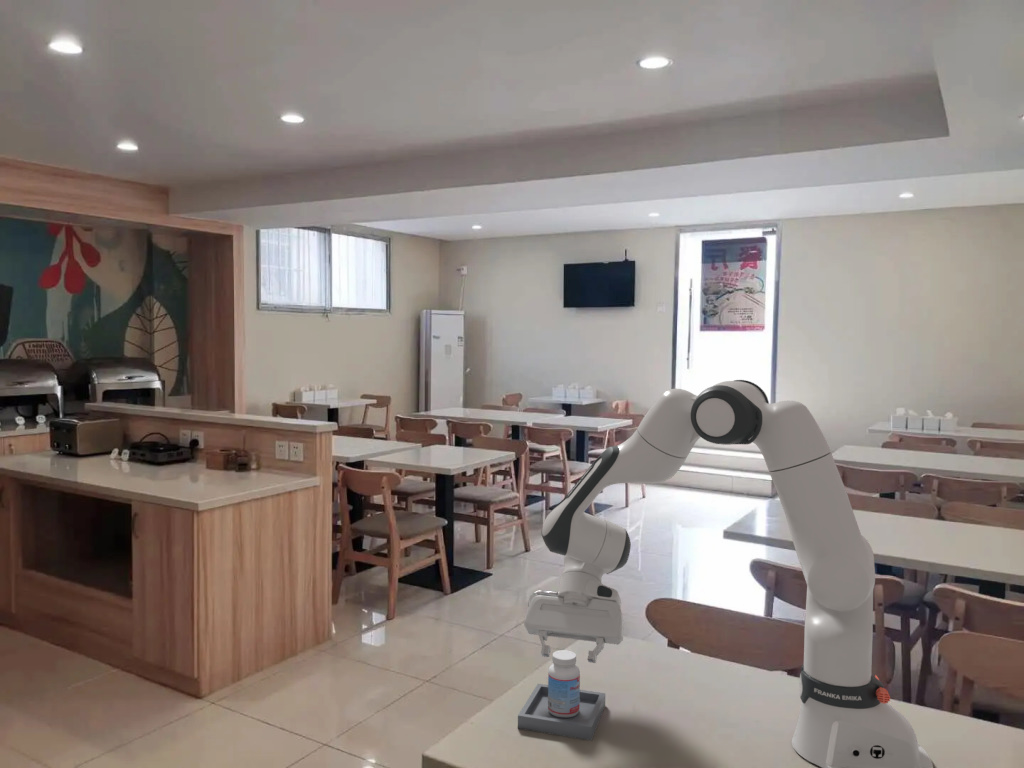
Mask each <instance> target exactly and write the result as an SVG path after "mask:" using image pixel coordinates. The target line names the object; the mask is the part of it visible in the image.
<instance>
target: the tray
mask: <svg viewBox="0 0 1024 768" xmlns="http://www.w3.org/2000/svg"><path fill="white" fill-rule="evenodd" d="M605 707H606V692H599V691H593V690H586V689H585V690H584V689H580V703H579V712H578V714H577V715H575V716H573V717H570V718H562V717H556V716H554V715H552V714H551V713H550V712H549V711H548V684H543V683H537V684H536V686H535V687H534V689H533V691H532V692H531V694H530V695H529V697H528V698H527V700H526V702H525V704H524V705H523V706H522V708H521V710H520V711H519V714H517V715H518V716H517V729H518V730H526V731H532V732H537V733H543V734H544V733H545V734H550V735H556V736H561V737H568V738H573V739H574V738H575V739H579V740H587V741H592V740H593V738H594V734H595V733H596V730H597V727H598V725H599V722H600V720H601V717H602V716H603V715H602V714H603V712H604V709H605Z"/></svg>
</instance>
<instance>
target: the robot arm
mask: <svg viewBox="0 0 1024 768" xmlns="http://www.w3.org/2000/svg"><path fill="white" fill-rule="evenodd" d="M701 438H702V439H703V440H705V441H706V442H708V443H711V444H716V445H723V446H724V445H727V446H728V445H729V446H730V445H750V444H752V443H753V444H755V446H757V448H758V449H759V451H760V452H761V454H762V456H763V458H764V462H765V464H766V467H767V470H768V472H769V475H770V477H771V480H772V483H773V485H774V488H775V490H776V492H777V496H778V498H779V501H780V504H781V507H782V510H783V512H784V514H785V518H786V521H787V524H788V525H787V526H788V529H789V532H790V535H791V536H790V537H791V539H792V542H793V546H794V549H795V553H796V555H797V559H798V562H799V565H800V568H801V570H802V574H803V578H804V579H805V584H806V586H807V587H806V598H805V599H806V601H805V616H804V617H805V618H804V634H803V635H804V637H803V638H804V641H803V643H804V644H803V645H804V646H803V647H804V648H803V664H802V666H801V669H800V673H799V697H800V701H801V702H800V707H799V714H798V720H797V723H796V727H795V730H794V733H793V736H792V737H791V745H792V747H793V749H794V751H795V752H796V753H797V754H798V755H800V756H801V757H802V758H804V759H805V760H806V761H808V762H809V763H812V764H813V765H816V766H817V767H820V768H934V765H933V762H932V759H931V757H930V756H929V754H928V752H927V750H925V748H924V747H923V746H921V745H920V744H919V743H918V742H919V741H918V739H917V735H916V732H915V730H914V728H913V726H912V724H911V723H910V722H909V720H908V719H907V717H905V715H903V714H902V713H901V712H900V711H898V709H896V708H895V707H894V706H892V705H891V704H890V703H889V702H890V701H891V696H890V694H889V691H888V690H887V688H884V684H883V682H882V681H880V677H878V676H877V674H875V675H873V674H872V666H873V665H872V660H873V659H872V658H873V657H872V656H873V631H874V629H873V625H874V624H873V621H874V619H873V618H874V617H873V616H874V615H873V613H874V588H875V583H876V572H875V571H876V570H875V569H876V567H875V556H874V551H873V548H872V546H871V544H870V543H869V541H868V540H867V539H866V538H865V537H864V536H863V535H862V534H861V530H860V529H859V525H858V522H857V520H856V516H855V512H854V509H853V507H852V504H851V501H850V499H849V495H848V492H847V490H846V486H845V484H844V482H843V479H842V477H841V474H840V471H839V469H838V466H837V464H836V461H835V458H834V457H833V455H832V452H831V449H830V447H829V444H828V442H827V440H826V438H825V435H824V433H823V432H822V430H821V428H820V426H819V424H818V422H817V421H816V419H815V417H814V416H813V414H812V412H811V411H810V410H809V408H808V407H807V406H806V405H805V404H803V403H802V402H799V401H795V400H782V401H777V402H773V403H770V402H769V399H768V396H767V394H766V392H765V391H764V390H763V389H762V388H761V387H760V386H759V385H757V384H756V383H754V382H752V381H749V380H744V379H736V380H725V381H722V382H719V383H717V384H714V385H713V386H710V387H707V388H705V389H704V390H702V391H701V392H700V393H699V394H698V395H696V394H694V393H692V392H691V391H688V390H686V389H682V388H671V389H667V390H666V391H664V392H663V393H661V394H660V396H659V397H658V398H657V399H656V401H654V403H653V405H651V406H650V408H649V409H648V411H647V412H646V414H645V416H643V418H642V420H641V421H640V423H639V425H638V426H637V427H636V430H635V431H634V432H633V434H632V435H631V436H630V437H629V438H628V439H626V440H625V441H623V442H622V443H620V444H617V445H613V446H609V447H607V448H606V449H605V450H603V452H601V454H600V455H599V456H598V457H597V458H596V459H595V460H594V461H593V463H591V465H590V466H589V467H588V468H587V470H586V471H585V472H584V473H583V474H582V476H581V477H580V479H579V480H577V482H576V483H575V484H574V486H573V487H572V488H571V489H570V491H568V492H567V494H566V495H565V496H564V497H563V499H562V500H561V501H560V502H558V504H557V505H555V506H554V507H553V508H552V509H551V511H550V512H549V513H548V515H547V516H546V518H545V520H544V523H543V525H542V527H541V537H542V539H543V540H542V541H543V542H544V544H545V546H546V547H547V549H548V550H549V551H550V552H551V553H554V554H557V555H561V556H563V557H564V558H563V564H564V568H563V570H562V571H561V575H560V579H559V585H558V588H557V589H558V590H557V591H551V590H548V591H547V590H541V589H540V590H539V589H538V590H537V591H535V592H532V593H531V594H530V596H529V598H528V605H527V606H528V608H527V610H526V613H525V617H524V621H523V625H524V628H525V630H526V631H527V633H528V634H529V635H534V636H535V635H536V636H538V638H539V641H540V643H541V651H540V655H541V657H545V658H550V657H551V651H552V649H551V646H550V645H547V644H546V641H548V639H549V637H550V638H551V637H552V638H560V639H561V638H562V639H566V640H567V639H569V640H574V641H575V640H578V641H584V642H593V643H595V644H596V646H595V648H593V650H588V652H587V653H588V656H587V661H588V663H592V664H597V658H598V656H599V654H600V653H601V652H602V651H603V650H604V648H605V644H609V645H611V644H612V645H617V646H618V645H620V644H621V643H622V642H623V641H624V632H625V627H624V624H625V623H624V618H623V613H622V612H623V611H622V609H621V608H622V601H621V596H620V594H619V591H617V590H616V589H614V588H612V587H609V586H607V585H605V584H603V583H602V579H603V575H605V574H606V575H609V574H611V573H613V572H616V571H618V570H619V569H622V568H623V567H624V566H625V565H626V564H627V562H628V560H629V557H630V552H631V538H630V536H629V533H628V530H626V528H623V526H620V525H618V524H616V523H613V522H610V521H609V520H606V519H603V518H600V517H597V516H595V515H592V514H590V513H587V512H585V511H586V510H587V509H588V508H589V507H590V506H591V504H592V503H593V502H594V501H595V499H596V498H597V497H598V496H599V494H600V493H601V492H602V491H603V490H605V488H608V487H610V486H612V485H616V484H619V485H620V484H640V485H641V484H642V485H643V484H644V485H653V484H659V483H660V484H661V483H663V482H666V481H667V480H670V479H672V478H673V477H674V476H675V475H676V474H677V473H678V471H680V468H681V467H682V466H683V464H684V463H685V461H686V459H687V458H688V456H689V454H690V453H691V451H692V449H693V447H694V446H695V445H696V443H697V442H698V440H699V439H701Z"/></svg>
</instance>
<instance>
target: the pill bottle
mask: <svg viewBox="0 0 1024 768" xmlns="http://www.w3.org/2000/svg"><path fill="white" fill-rule="evenodd" d="M551 660H552V661H551V662H552V664H550V666H549V667H548V677H547V679H548V682H547V685H548V711H549V712H550V713H551V714H552V715H554V716H556V717H562V718H570V717H573V716H575V715H577V714H578V712H579V703H580V690H581V689H580V688H581V687H580V686H581V685H580V684H581V680H580V679H581V674H580V673H581V672H580V668H579V667H578V665H576V664H577V654H576V653H575V652H574V651H570V650H565V649H561V650H559V649H558V650H555V651H554V652H552V659H551Z"/></svg>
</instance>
